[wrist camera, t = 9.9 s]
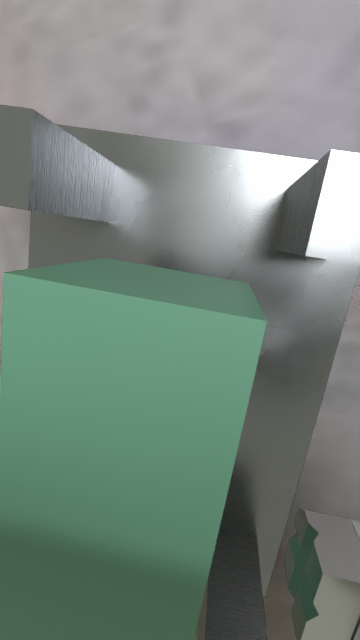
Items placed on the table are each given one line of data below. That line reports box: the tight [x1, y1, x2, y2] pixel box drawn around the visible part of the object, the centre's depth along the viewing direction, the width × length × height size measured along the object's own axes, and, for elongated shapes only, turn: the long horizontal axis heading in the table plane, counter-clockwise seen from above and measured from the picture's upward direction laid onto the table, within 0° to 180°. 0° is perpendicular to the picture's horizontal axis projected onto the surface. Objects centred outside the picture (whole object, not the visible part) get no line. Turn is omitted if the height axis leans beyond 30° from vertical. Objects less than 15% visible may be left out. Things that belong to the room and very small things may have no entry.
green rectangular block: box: [0, 258, 267, 640], centre depth 8 cm, size 10×4×4 cm, turn 171°
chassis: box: [0, 105, 360, 640], centre depth 12 cm, size 18×12×6 cm, turn 171°
